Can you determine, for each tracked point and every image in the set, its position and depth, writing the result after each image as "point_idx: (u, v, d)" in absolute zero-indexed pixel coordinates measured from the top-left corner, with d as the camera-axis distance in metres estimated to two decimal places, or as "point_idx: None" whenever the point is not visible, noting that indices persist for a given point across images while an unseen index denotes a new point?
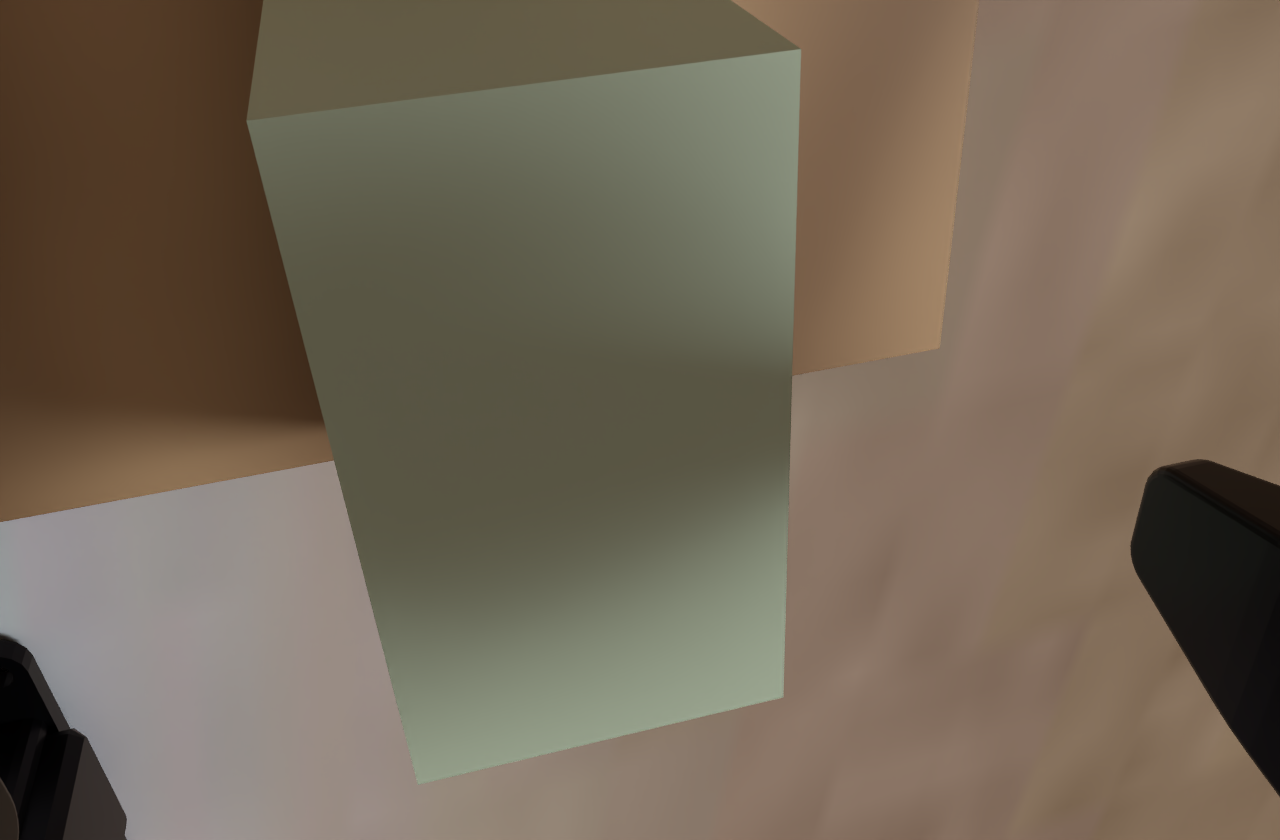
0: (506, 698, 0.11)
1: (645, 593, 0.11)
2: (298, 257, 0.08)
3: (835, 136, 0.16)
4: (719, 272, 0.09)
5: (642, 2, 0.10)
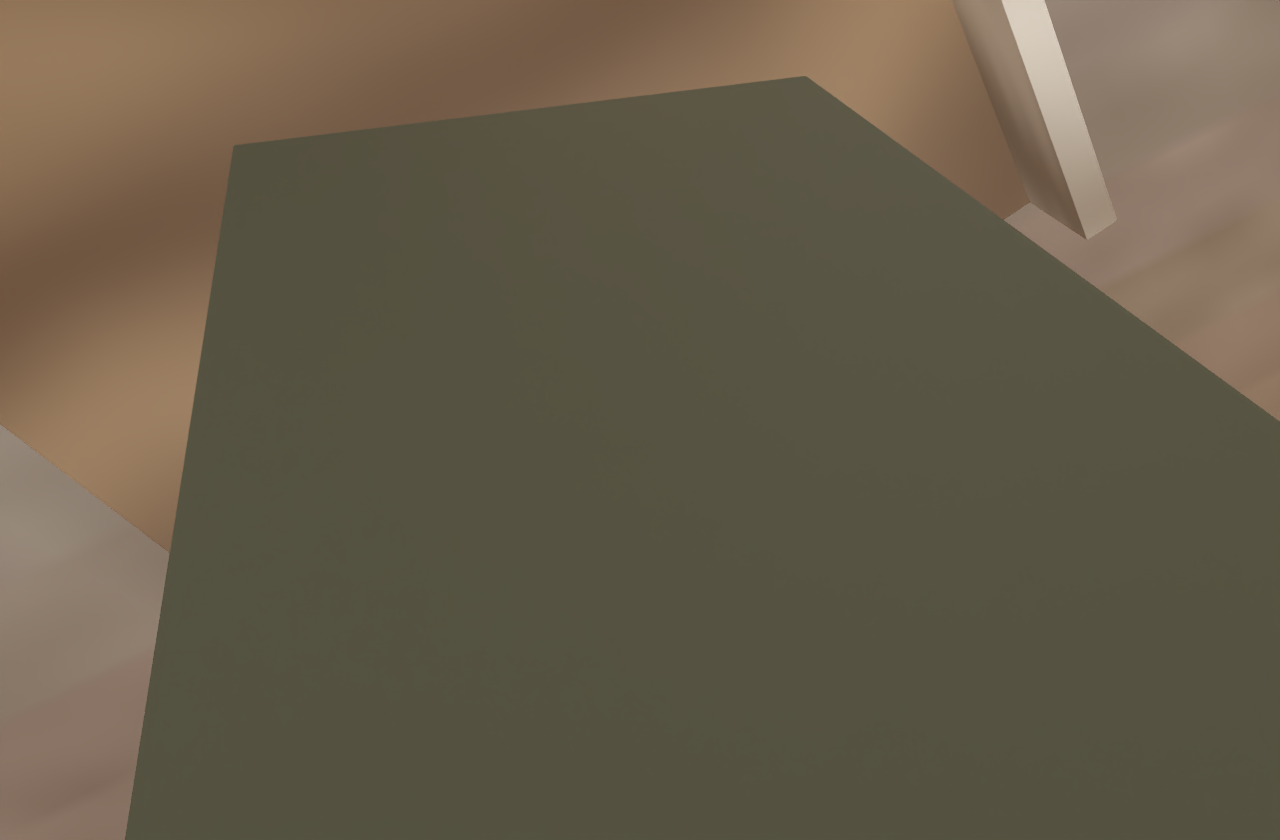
0: None
1: None
2: None
3: None
4: None
5: (1164, 508, 0.04)
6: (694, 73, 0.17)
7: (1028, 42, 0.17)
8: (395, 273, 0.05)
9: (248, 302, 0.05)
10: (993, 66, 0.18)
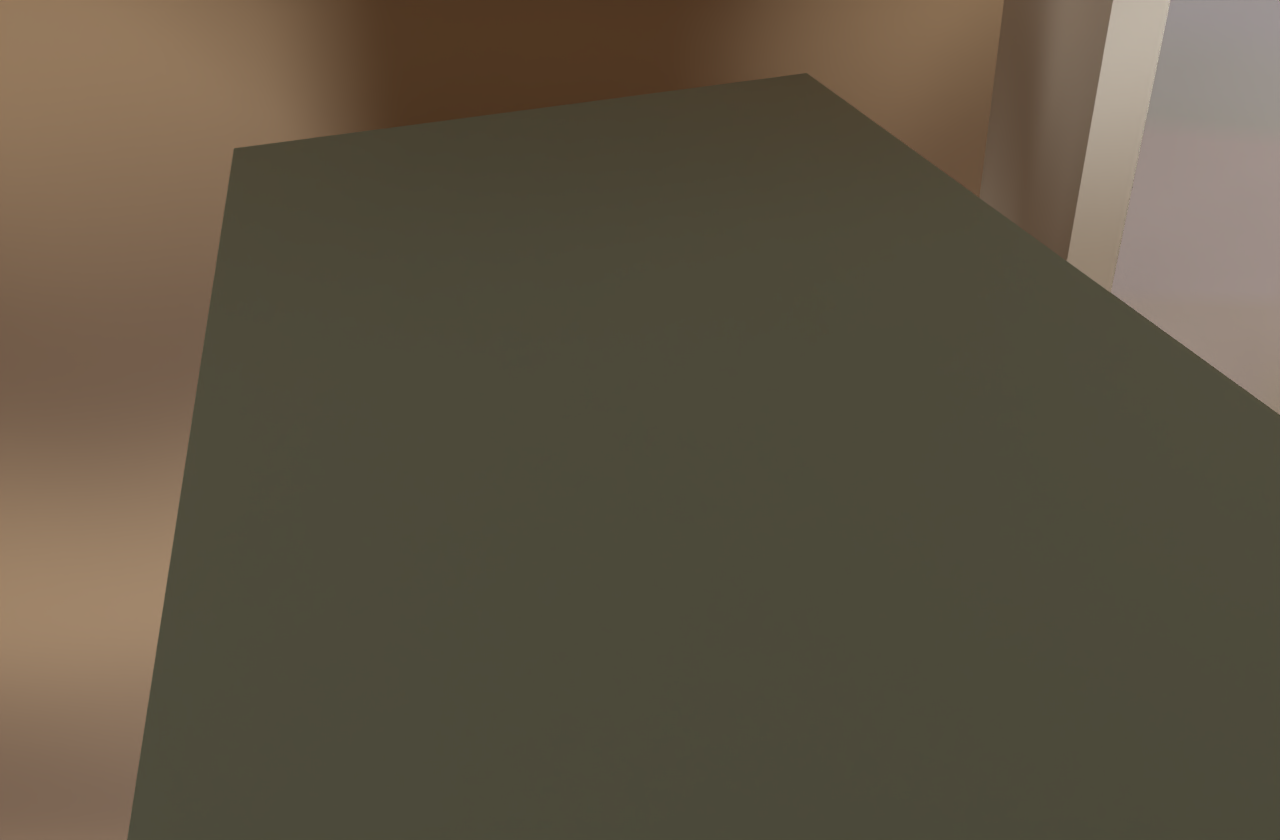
0: None
1: None
2: None
3: (37, 796, 0.14)
4: None
5: (1169, 507, 0.04)
6: None
7: None
8: (397, 275, 0.05)
9: (249, 306, 0.05)
10: None
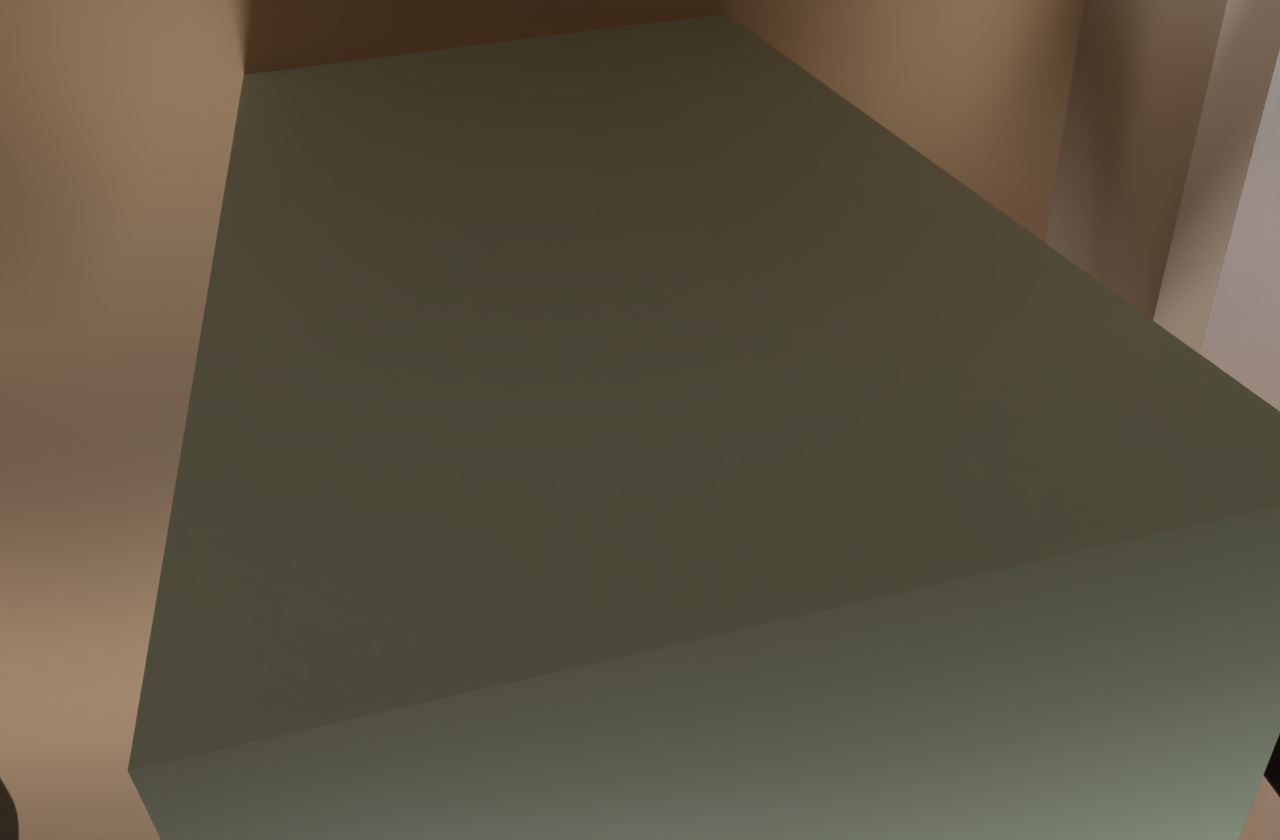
0: None
1: None
2: None
3: None
4: None
5: (917, 275, 0.05)
6: None
7: None
8: (372, 154, 0.07)
9: (257, 176, 0.07)
10: None
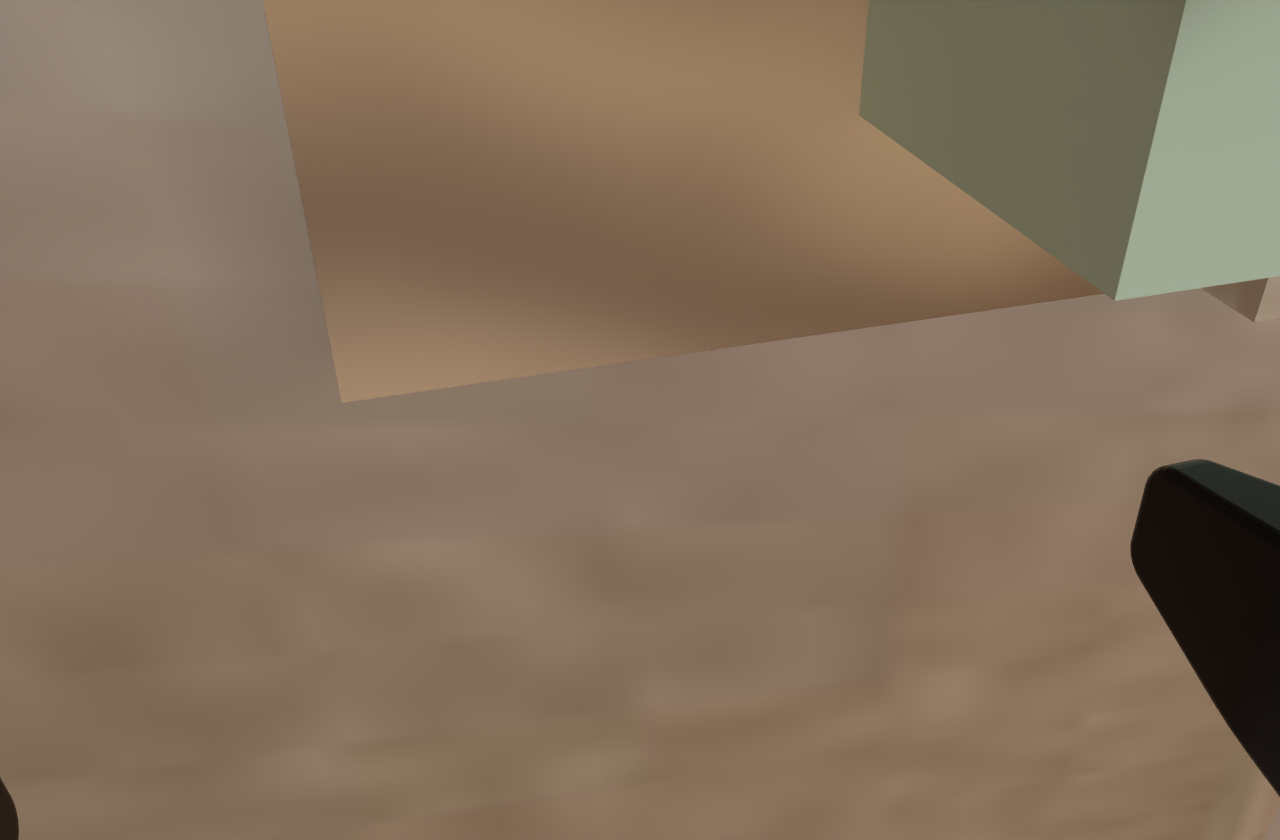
0: (1217, 209, 0.12)
1: None
2: None
3: (572, 258, 0.18)
4: None
5: None
6: None
7: None
8: None
9: None
10: None
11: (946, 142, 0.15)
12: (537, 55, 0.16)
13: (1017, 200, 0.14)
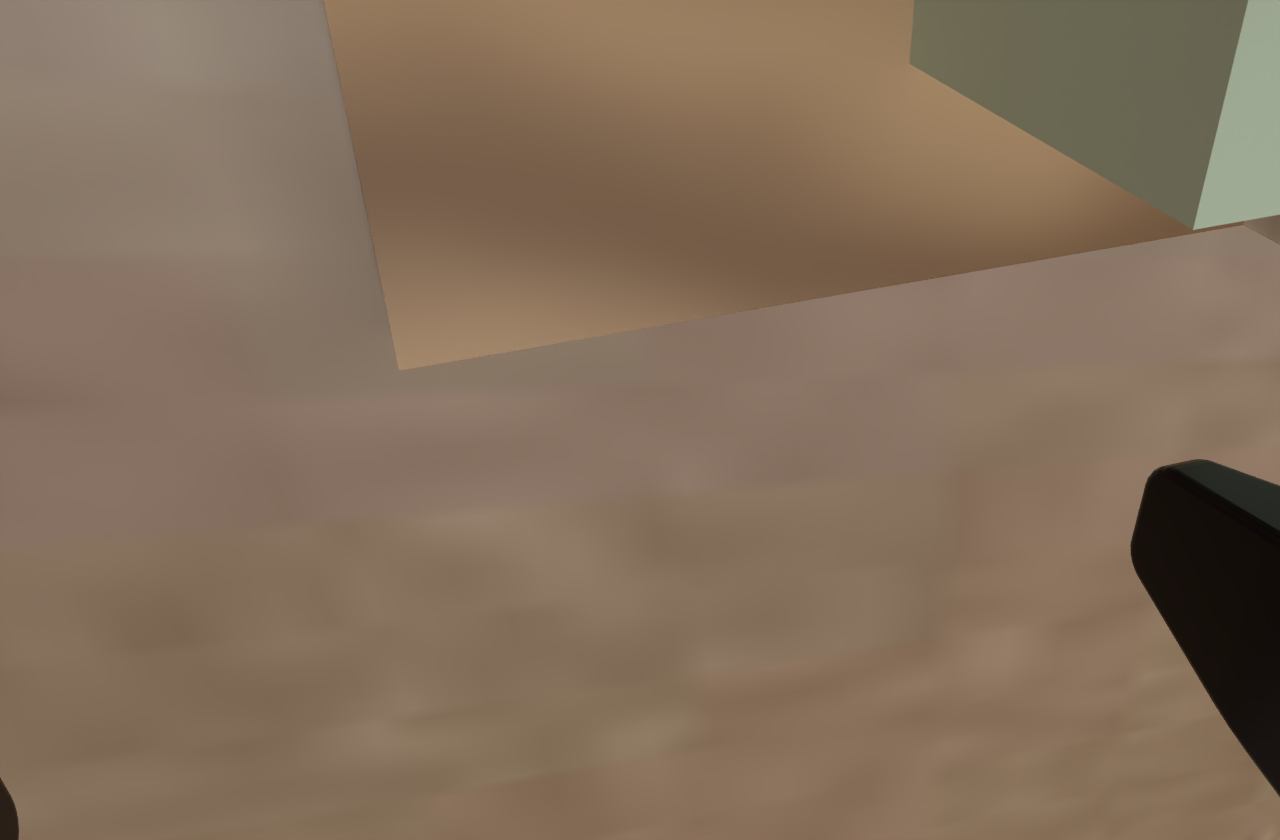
0: None
1: None
2: None
3: (624, 217, 0.18)
4: None
5: None
6: None
7: None
8: None
9: None
10: None
11: (1005, 83, 0.15)
12: (588, 12, 0.16)
13: (1084, 136, 0.14)
